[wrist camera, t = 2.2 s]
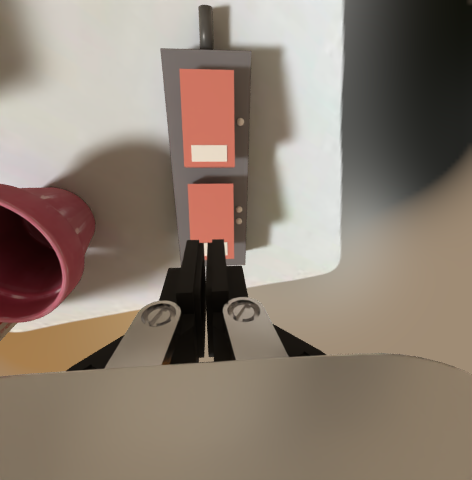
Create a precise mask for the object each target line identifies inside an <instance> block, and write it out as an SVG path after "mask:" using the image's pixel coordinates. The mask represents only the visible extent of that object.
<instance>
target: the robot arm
mask: <svg viewBox="0 0 472 480" xmlns="http://www.w3.org/2000/svg"><path fill="white" fill-rule="evenodd" d="M206 313H207V332H208V352H209V357H214V362H202V363H201V362H200V363H199V358H201V357H204V347H205V321H206ZM0 480H472V374H470V373H468V372H466V371H464V370H461V369H459V368H456V367H454V366H451V365H448V364H445V363H442V362H438V361H433V360H430V359H425V358H422V357H416V356H409V355H401V354H385V353H371V354H337V355H326V354H325V353H323V352H322V351H320V350H318V349H316V348H315V347H313V346H311V345H309V344H308V343H306V342H304V341H302V340H301V339H299V338H297V337H295V336H293V335H292V334H290V333H288V332H286V331H284V330H282V329H280V328H279V327H277V326H275V325H274V324H272V322H271V321H270V318H269V317H268V314H267V313H266V311H265V308H264V307H263V305H262V304H261V303H260V302H258V301H257V300H255V299H252V298H248V294H247V289H246V284H245V279H244V274H243V269H242V266H226V257H225V246H224V239H212V243H208V245H207V268H206V276H205V256H204V243H199V240H187V242H186V247H185V251H184V256H183V261H182V265H181V268H169V269H168V272H167V276H166V279H165V282H164V286H163V289H162V293H161V296H160V299H159V301H157V302H153V303H150V304H148V305H146V306H145V307H143V308H142V309H141V310H140V311H139V312H138V314H137V315H136V317H135V319H134V320H133V322H132V324H131V325H130V327H129V329H128V330H127V332H126V333H125V335H123V336H121V337H120V338H118V339H117V340H115V341H113V342H112V343H110V344H108V345H107V346H105V347H103V348H102V349H100V350H98V351H97V352H95V353H93V354H92V355H90V356H89V357H87V358H85V359H84V360H82V361H80V362H79V363H77V364H75V365H74V366H72V367H71V368H69V369H68V370H67V371H65V372H52V373H37V374H22V375H13V376H3V377H0Z"/></svg>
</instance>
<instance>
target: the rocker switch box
mask: <svg viewBox="0 0 472 480" xmlns="http://www.w3.org/2000/svg"><path fill="white" fill-rule="evenodd" d="M199 31H200V50H198V49H165V48H160V49H161V59H162V70H163V80H164V91H165V101H166V112H167V122H168V133H169V143H170V154H171V164H172V175H173V185H174V196H175V207H176V217H177V228H178V238H179V249H180V259H181V265H182V261H183V256H184V251H185V247H186V242H187V240H190V223H189V203H188V184H233V200H234V259H226V265H245V255H246V220H247V184H248V149H249V114H250V78H251V51H230V50H213V13H212V7H211V6H208V5H201V6H199ZM179 69H211V70H234V135H235V167H234V168H185V167H184V151H183V131H182V111H181V91H180V71H179ZM205 266H207V260H205Z"/></svg>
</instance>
